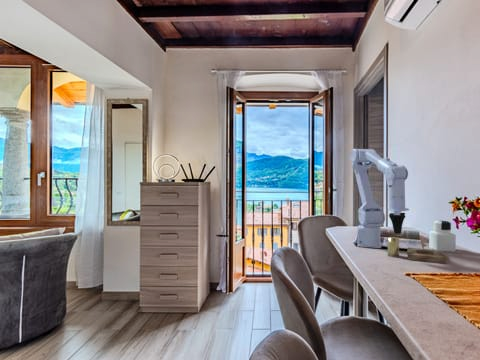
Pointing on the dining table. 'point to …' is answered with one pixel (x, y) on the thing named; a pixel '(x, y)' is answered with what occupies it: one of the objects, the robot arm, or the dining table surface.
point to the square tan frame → (426, 255)
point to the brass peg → (393, 246)
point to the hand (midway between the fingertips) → (397, 232)
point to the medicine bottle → (442, 237)
